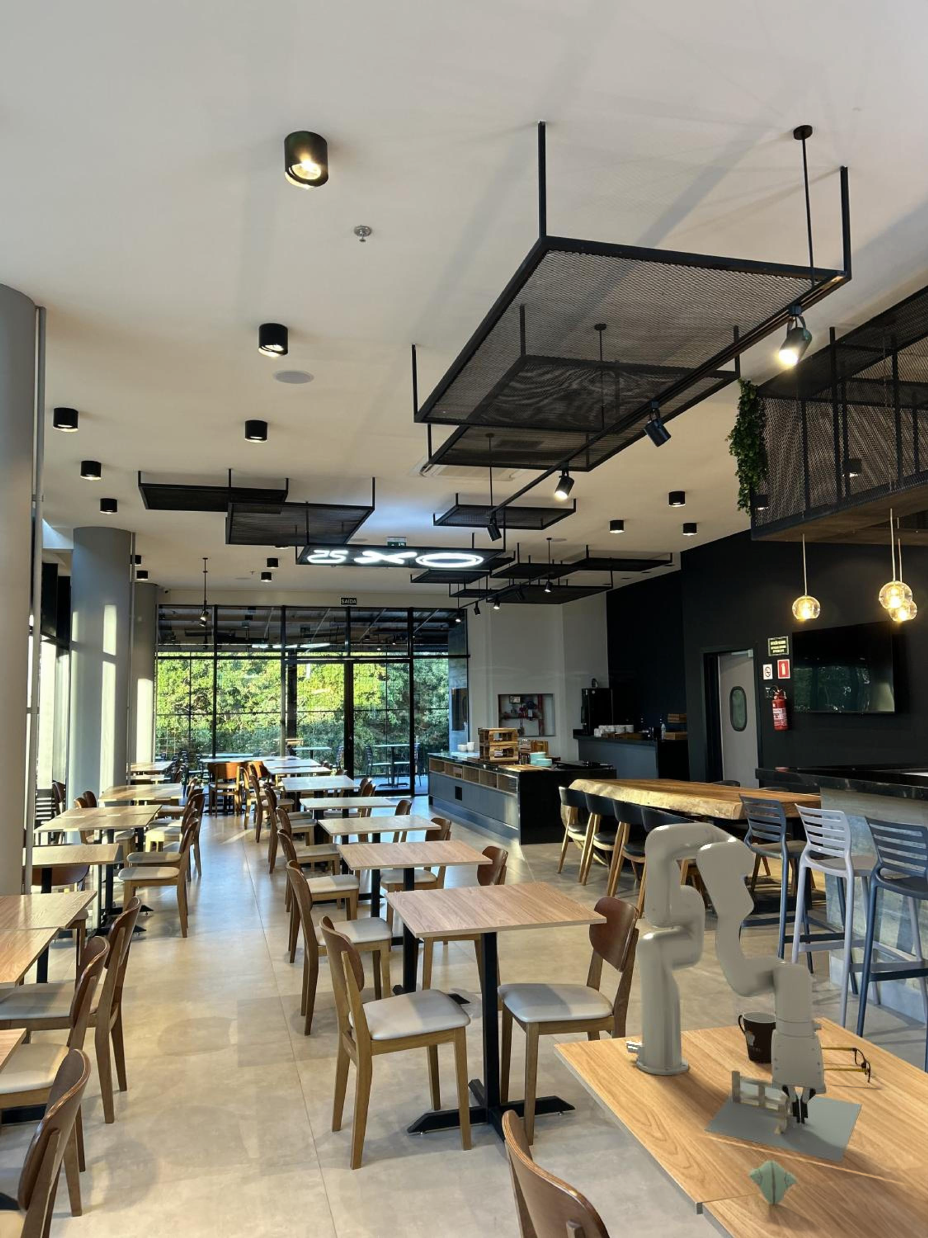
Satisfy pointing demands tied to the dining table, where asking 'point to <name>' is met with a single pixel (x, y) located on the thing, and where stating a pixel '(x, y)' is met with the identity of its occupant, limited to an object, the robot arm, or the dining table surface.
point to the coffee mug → (758, 1035)
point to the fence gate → (783, 1111)
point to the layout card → (789, 1124)
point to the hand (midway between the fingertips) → (800, 1121)
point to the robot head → (772, 1181)
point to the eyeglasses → (863, 1065)
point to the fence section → (758, 1097)
